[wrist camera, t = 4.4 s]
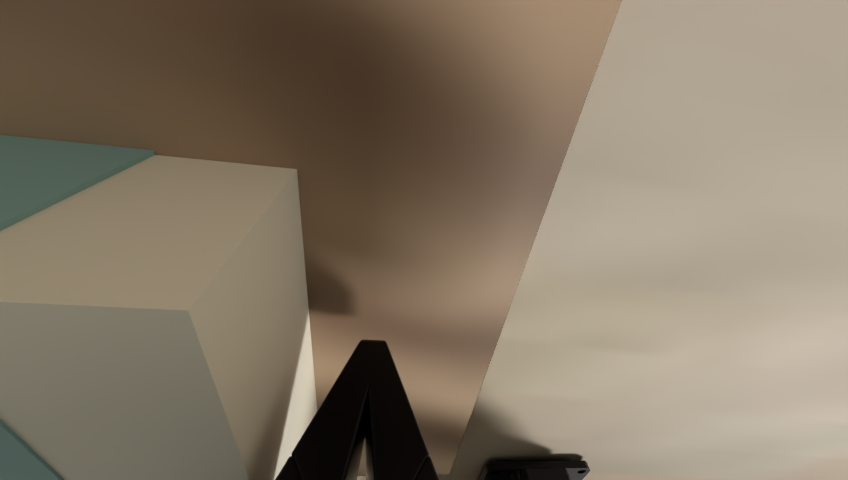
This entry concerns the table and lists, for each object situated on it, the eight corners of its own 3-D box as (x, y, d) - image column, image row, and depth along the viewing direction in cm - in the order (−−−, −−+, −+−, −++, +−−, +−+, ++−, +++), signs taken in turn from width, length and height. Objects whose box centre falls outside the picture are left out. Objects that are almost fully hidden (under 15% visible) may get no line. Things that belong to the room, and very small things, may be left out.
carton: (317, 410, 13) (281, 571, 9) (62, 407, 12) (-102, 589, 8) (296, 165, 7) (183, 306, 4) (-183, 115, 6) (-1101, 243, 2)
